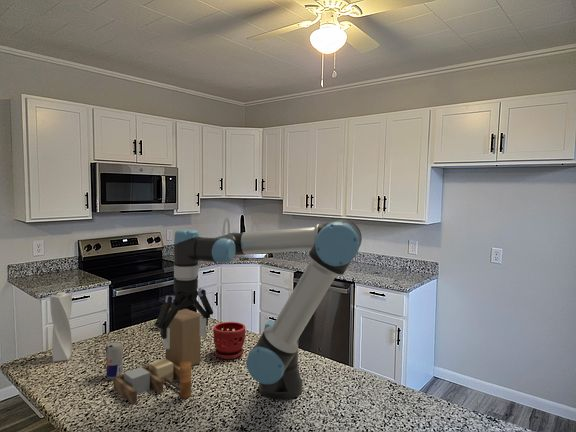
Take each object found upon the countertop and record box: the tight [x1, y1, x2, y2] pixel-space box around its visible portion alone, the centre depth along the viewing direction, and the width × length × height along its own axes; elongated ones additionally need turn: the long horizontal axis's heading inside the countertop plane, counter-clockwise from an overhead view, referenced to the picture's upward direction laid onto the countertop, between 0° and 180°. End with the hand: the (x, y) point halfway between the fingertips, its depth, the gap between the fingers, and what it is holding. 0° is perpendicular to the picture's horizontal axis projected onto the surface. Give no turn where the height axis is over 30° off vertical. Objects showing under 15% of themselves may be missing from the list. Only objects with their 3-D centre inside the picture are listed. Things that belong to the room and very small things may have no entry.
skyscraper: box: [47, 287, 74, 364], centre depth 151 cm, size 8×8×28 cm
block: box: [123, 366, 151, 395], centre depth 130 cm, size 6×6×6 cm
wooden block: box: [165, 308, 202, 367], centre depth 150 cm, size 10×10×20 cm
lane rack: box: [113, 364, 180, 406], centre depth 133 cm, size 14×20×4 cm
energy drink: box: [105, 341, 124, 381], centre depth 138 cm, size 5×5×12 cm
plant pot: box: [212, 321, 246, 360], centre depth 159 cm, size 13×13×12 cm
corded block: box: [148, 357, 192, 400], centre depth 132 cm, size 20×6×11 cm, turn 48°
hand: (185, 342), depth 126 cm, fingers open, 13 cm apart
